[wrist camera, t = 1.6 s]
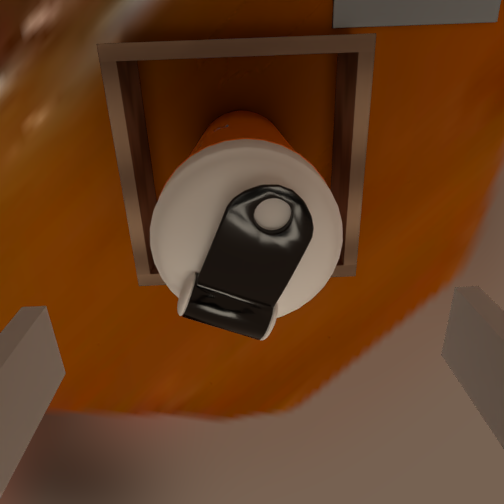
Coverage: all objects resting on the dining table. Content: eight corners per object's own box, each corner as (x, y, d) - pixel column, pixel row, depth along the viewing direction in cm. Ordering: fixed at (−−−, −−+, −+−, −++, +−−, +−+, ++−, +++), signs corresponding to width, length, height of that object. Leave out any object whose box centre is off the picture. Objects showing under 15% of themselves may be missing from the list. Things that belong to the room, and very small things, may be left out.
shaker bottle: (309, 112, 34) (393, 191, 16) (280, 215, 37) (321, 374, 20) (197, 85, 33) (151, 137, 15) (179, 194, 36) (124, 342, 18)
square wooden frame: (120, 43, 31) (96, 43, 26) (352, 34, 31) (376, 33, 26) (152, 252, 39) (138, 285, 33) (338, 243, 39) (355, 275, 33)
